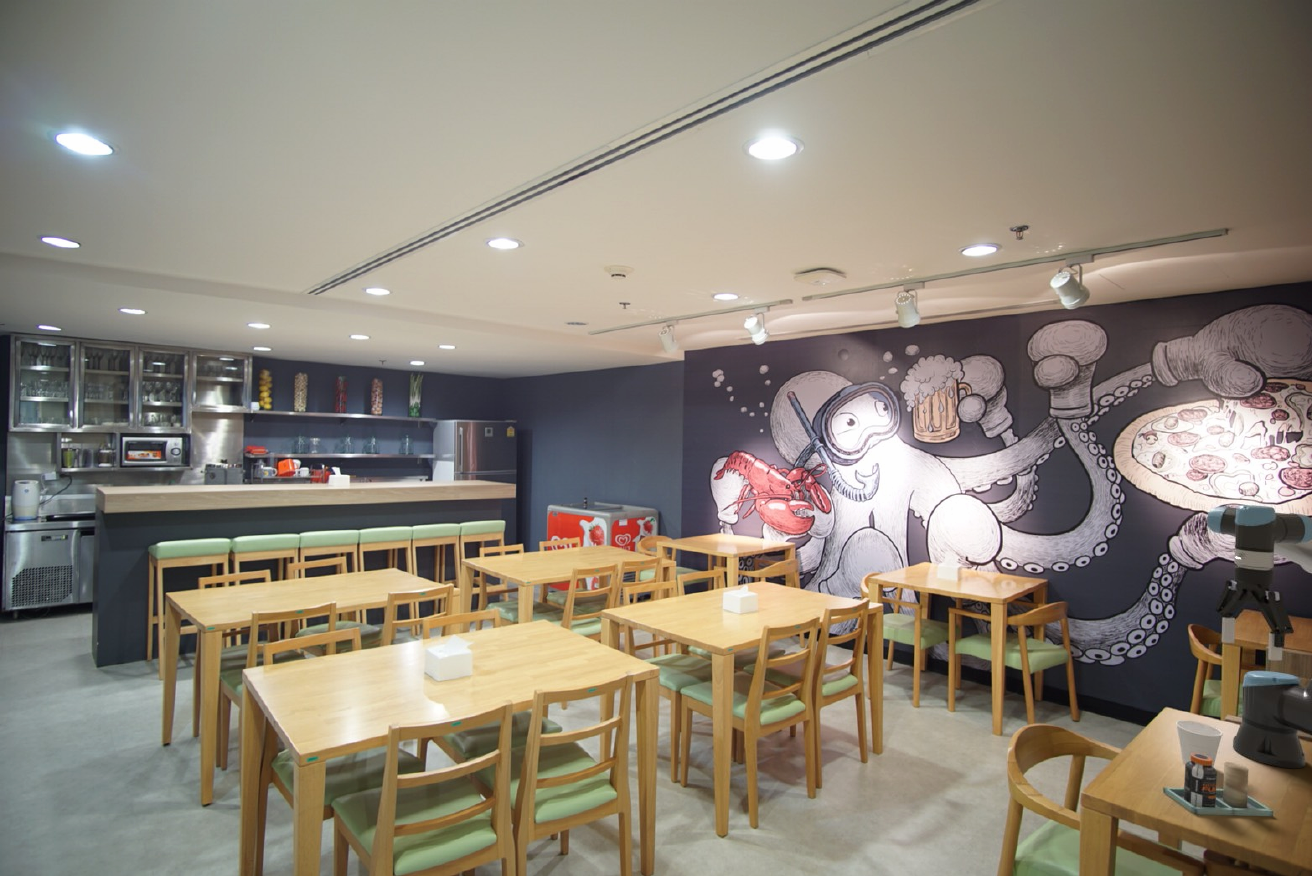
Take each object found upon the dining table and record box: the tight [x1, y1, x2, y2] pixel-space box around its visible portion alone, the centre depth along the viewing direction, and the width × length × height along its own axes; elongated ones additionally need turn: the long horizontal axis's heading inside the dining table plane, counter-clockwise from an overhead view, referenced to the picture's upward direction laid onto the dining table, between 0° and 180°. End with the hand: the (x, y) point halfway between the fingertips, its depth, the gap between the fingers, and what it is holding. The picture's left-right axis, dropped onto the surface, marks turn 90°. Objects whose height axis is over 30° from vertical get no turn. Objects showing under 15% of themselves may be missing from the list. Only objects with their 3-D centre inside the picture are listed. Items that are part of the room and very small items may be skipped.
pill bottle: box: [1183, 753, 1218, 808], centre depth 163 cm, size 6×6×11 cm
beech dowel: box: [1222, 761, 1249, 808], centre depth 164 cm, size 4×4×9 cm
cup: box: [1175, 719, 1224, 768], centre depth 183 cm, size 10×10×11 cm
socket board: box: [1162, 786, 1274, 817], centre depth 164 cm, size 18×10×2 cm, turn 90°
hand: (1250, 650), depth 174 cm, fingers open, 13 cm apart
